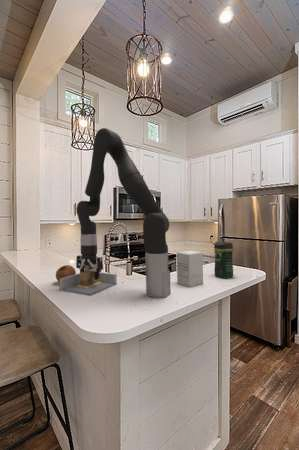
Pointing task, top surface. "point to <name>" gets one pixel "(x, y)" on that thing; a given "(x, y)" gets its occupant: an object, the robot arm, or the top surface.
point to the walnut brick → (87, 278)
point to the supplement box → (190, 268)
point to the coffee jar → (223, 259)
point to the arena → (74, 286)
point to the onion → (65, 272)
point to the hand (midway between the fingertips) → (89, 278)
